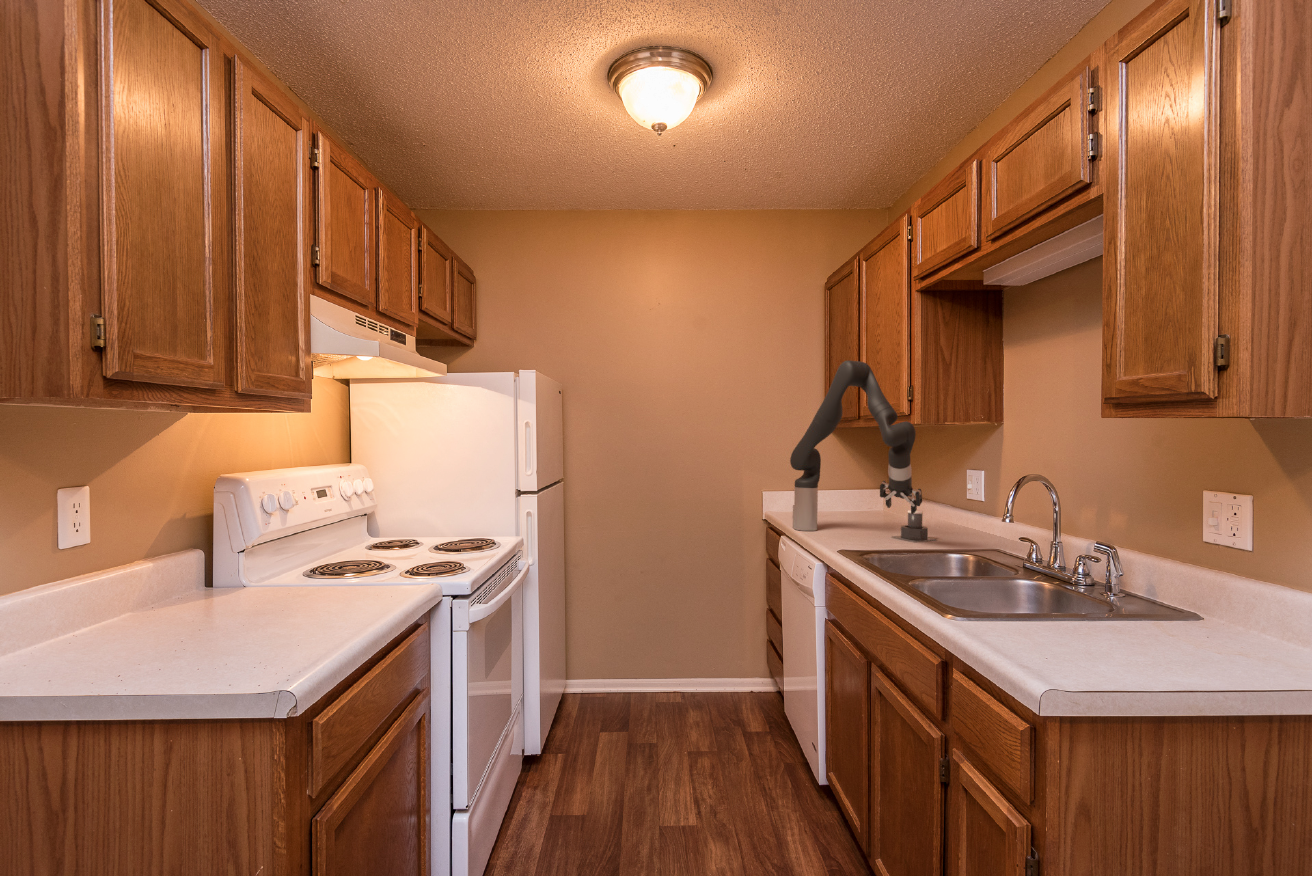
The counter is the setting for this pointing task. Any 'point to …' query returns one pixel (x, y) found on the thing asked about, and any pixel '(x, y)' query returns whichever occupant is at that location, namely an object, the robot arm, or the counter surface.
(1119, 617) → the counter surface
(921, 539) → the hex nut base plate
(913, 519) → the grey round peg
